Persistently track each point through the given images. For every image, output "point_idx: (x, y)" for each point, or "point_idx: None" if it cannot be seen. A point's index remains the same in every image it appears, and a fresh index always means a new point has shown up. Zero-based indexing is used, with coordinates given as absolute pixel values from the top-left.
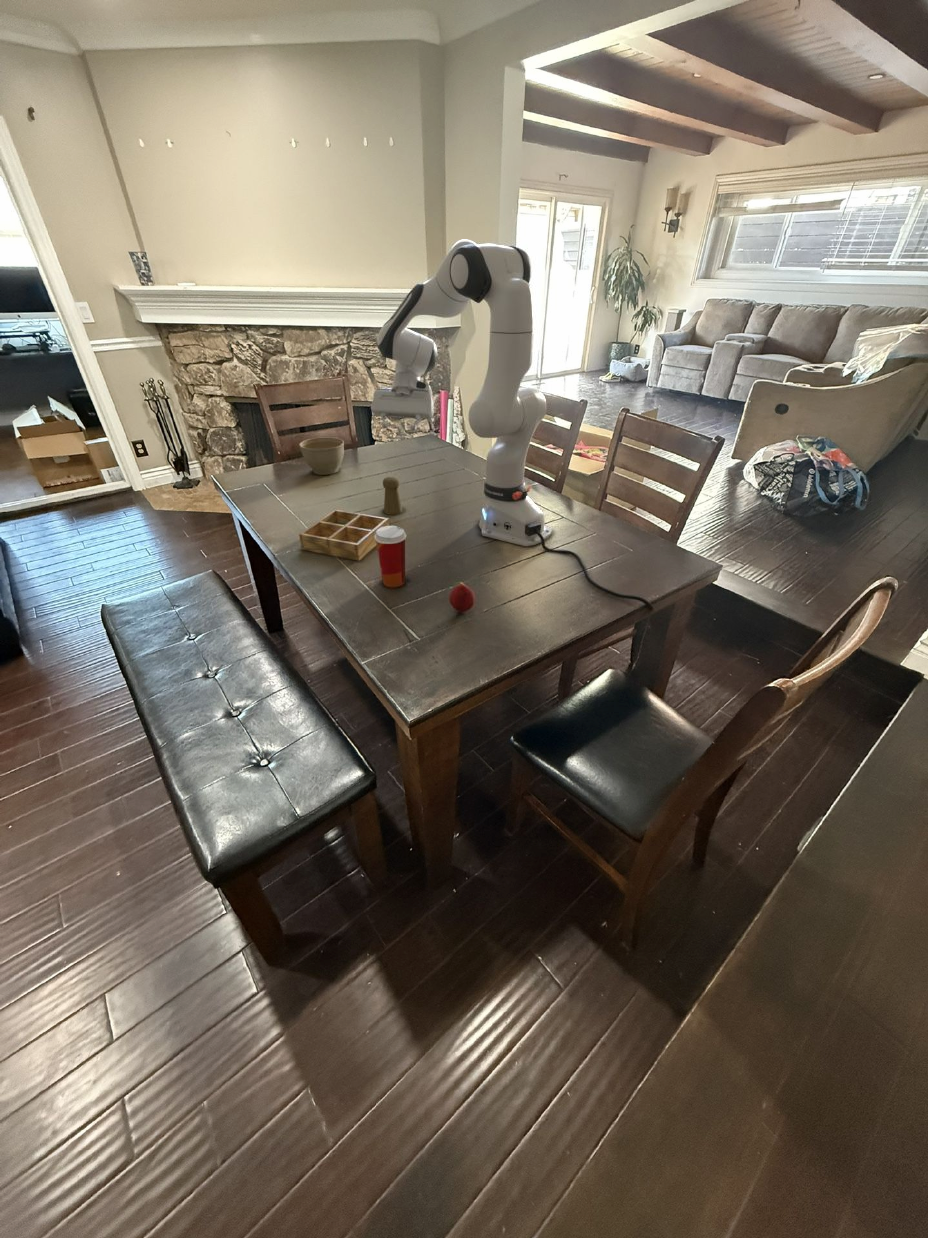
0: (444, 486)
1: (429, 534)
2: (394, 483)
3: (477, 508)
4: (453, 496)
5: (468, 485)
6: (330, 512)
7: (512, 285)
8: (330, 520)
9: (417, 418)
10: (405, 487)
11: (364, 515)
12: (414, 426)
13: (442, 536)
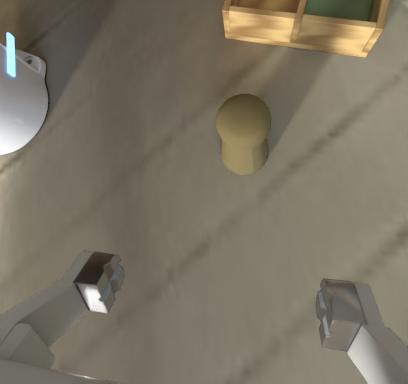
0: (130, 341)
1: (143, 49)
2: (226, 100)
3: (48, 192)
4: None
5: (65, 353)
6: (386, 9)
7: None
8: (375, 10)
9: (23, 313)
10: (245, 326)
11: (286, 12)
12: (85, 255)
13: (118, 46)
